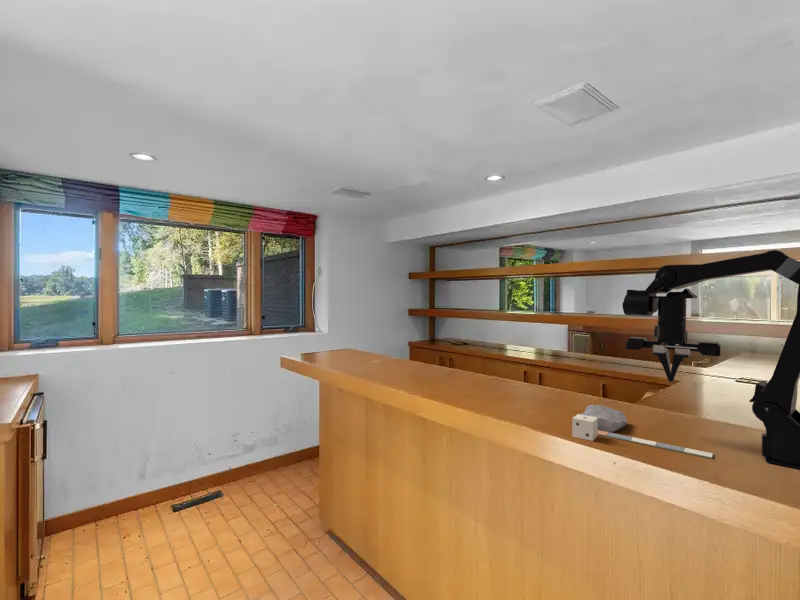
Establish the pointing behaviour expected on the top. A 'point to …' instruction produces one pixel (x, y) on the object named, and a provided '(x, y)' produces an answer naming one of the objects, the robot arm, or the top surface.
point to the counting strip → (657, 444)
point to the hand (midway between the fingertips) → (670, 381)
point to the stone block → (606, 417)
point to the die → (585, 427)
